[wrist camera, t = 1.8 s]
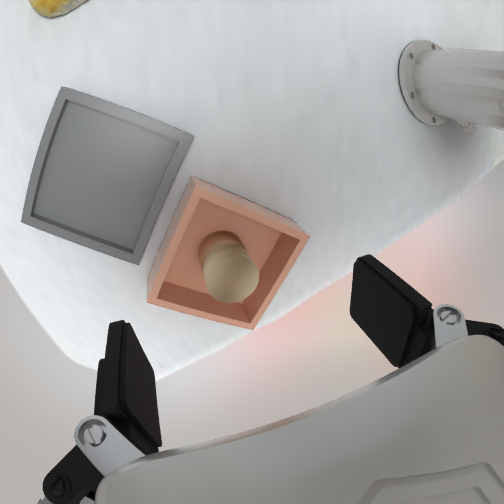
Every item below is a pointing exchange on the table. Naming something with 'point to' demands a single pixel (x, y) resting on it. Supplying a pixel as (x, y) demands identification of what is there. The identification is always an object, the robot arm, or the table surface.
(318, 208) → the table surface
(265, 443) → the robot arm
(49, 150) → the charcoal tray
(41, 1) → the bread roll
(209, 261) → the beech cylinder
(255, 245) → the salmon square tray
